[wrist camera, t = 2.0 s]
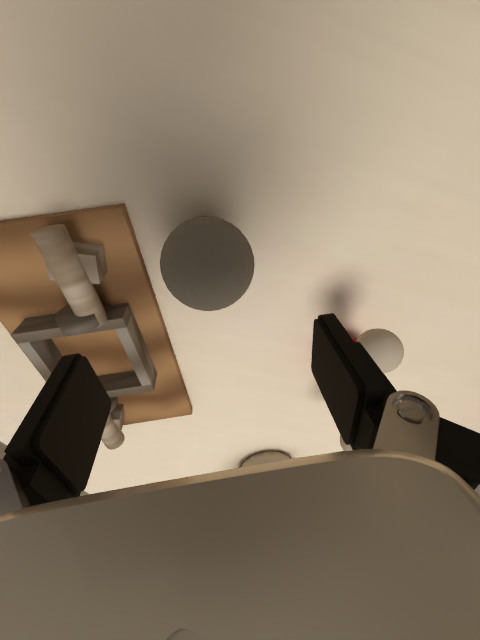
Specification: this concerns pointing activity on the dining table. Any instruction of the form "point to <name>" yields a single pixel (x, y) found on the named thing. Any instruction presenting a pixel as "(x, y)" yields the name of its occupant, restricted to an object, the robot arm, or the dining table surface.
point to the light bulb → (207, 263)
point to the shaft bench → (111, 290)
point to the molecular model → (380, 354)
